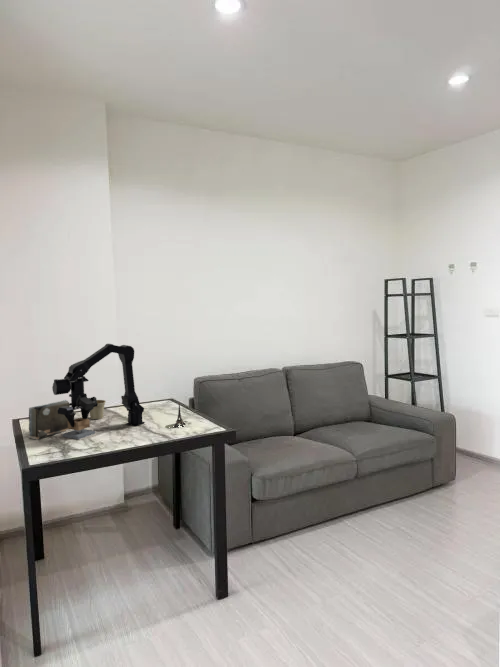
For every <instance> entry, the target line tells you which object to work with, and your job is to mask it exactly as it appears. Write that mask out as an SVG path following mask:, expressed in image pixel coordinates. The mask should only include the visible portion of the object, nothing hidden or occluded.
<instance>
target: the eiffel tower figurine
mask: <svg viewBox="0 0 500 667" xmlns="http://www.w3.org/2000/svg"><path fill="white" fill-rule="evenodd" d="M184 422H188V421H186V420H185V421H184V419H183V417H182V415H181V403H180V402H178V413H177V419H176V420H175V423H172V424H167V425H165V426H164V428H166V429H171V427H172V428H175V429H177V428H178V429H180V428H179V427H178V426H179V425H180V426H182V427H184V426H183V425H186V424H187V423H184ZM173 426H174V427H173ZM169 427H170V428H169ZM184 428H185V427H184Z"/></svg>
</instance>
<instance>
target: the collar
mask: <svg viewBox="0 0 500 667" xmlns="http://www.w3.org/2000/svg"><path fill="white" fill-rule="evenodd" d="M90 425H91V424H90V418H89V419H88V418H87V419H83V418H82V417H77V418H74V427H71V425H70V423H69V421H68V429H67V430H71V431H73V430H78V431H79V430H82V429H88V428H90V427H91V426H90Z"/></svg>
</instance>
